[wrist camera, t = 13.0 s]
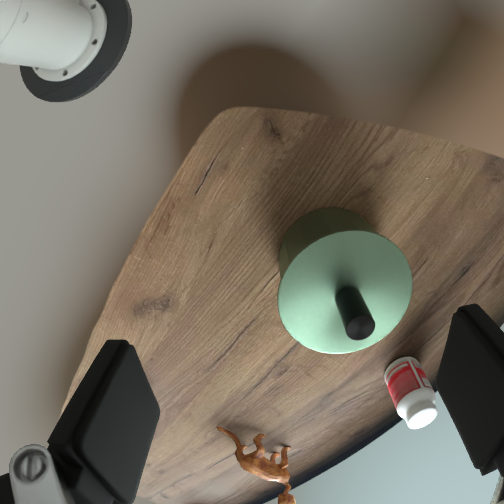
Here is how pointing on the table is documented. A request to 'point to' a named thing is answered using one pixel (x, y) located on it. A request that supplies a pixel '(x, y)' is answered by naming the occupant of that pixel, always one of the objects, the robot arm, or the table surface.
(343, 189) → the table surface
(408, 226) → the table surface
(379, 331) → the tin lid
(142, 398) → the robot arm
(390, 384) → the pill bottle
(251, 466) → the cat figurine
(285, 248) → the tin
